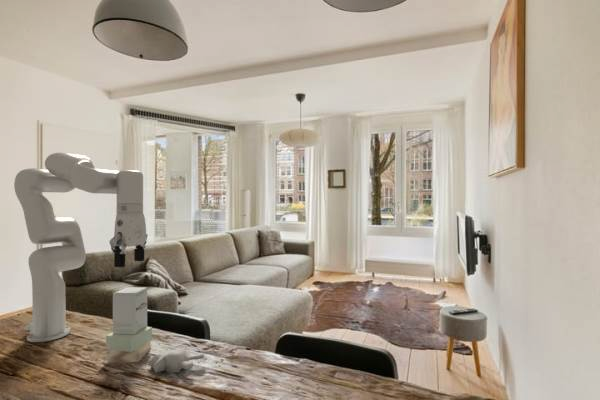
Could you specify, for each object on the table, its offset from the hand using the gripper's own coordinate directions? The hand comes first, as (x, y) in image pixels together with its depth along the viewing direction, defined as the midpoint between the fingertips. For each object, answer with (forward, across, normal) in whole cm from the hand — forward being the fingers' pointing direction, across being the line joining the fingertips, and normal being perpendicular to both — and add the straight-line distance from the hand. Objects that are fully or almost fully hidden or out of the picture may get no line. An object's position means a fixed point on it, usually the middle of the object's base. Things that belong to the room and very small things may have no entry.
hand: (130, 263), depth 106 cm
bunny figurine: (+29, -7, -19) cm, 35 cm away
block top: (+25, -1, -1) cm, 25 cm away
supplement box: (+21, 0, 0) cm, 21 cm away
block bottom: (+29, -1, -1) cm, 29 cm away
